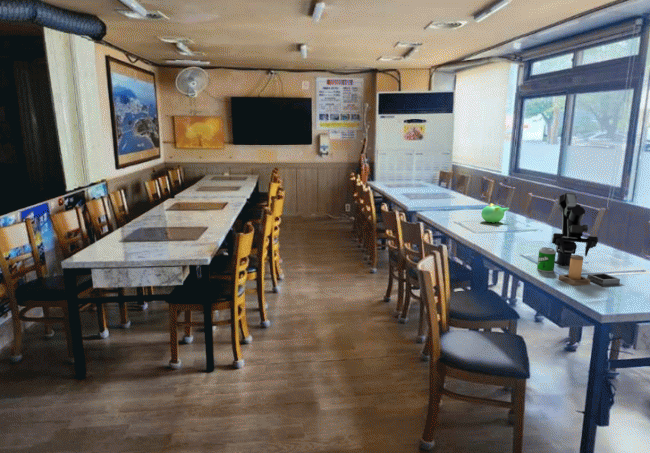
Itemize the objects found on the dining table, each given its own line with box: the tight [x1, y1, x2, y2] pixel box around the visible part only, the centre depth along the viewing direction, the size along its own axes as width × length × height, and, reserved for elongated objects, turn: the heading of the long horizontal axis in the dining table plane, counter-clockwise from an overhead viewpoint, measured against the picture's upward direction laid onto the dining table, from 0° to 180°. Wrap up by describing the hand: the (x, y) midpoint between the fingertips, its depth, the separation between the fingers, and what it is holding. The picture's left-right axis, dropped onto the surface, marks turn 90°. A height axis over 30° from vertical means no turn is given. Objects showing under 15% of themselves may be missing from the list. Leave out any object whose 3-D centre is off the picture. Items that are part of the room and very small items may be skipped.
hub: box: [586, 272, 624, 288], centre depth 205 cm, size 12×12×4 cm
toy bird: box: [481, 202, 510, 224], centre depth 346 cm, size 18×17×15 cm
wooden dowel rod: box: [568, 254, 584, 280], centre depth 204 cm, size 5×5×12 cm
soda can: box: [536, 247, 557, 273], centre depth 222 cm, size 8×8×12 cm
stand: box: [557, 273, 592, 287], centre depth 206 cm, size 10×10×3 cm
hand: (574, 255), depth 209 cm, fingers open, 9 cm apart
